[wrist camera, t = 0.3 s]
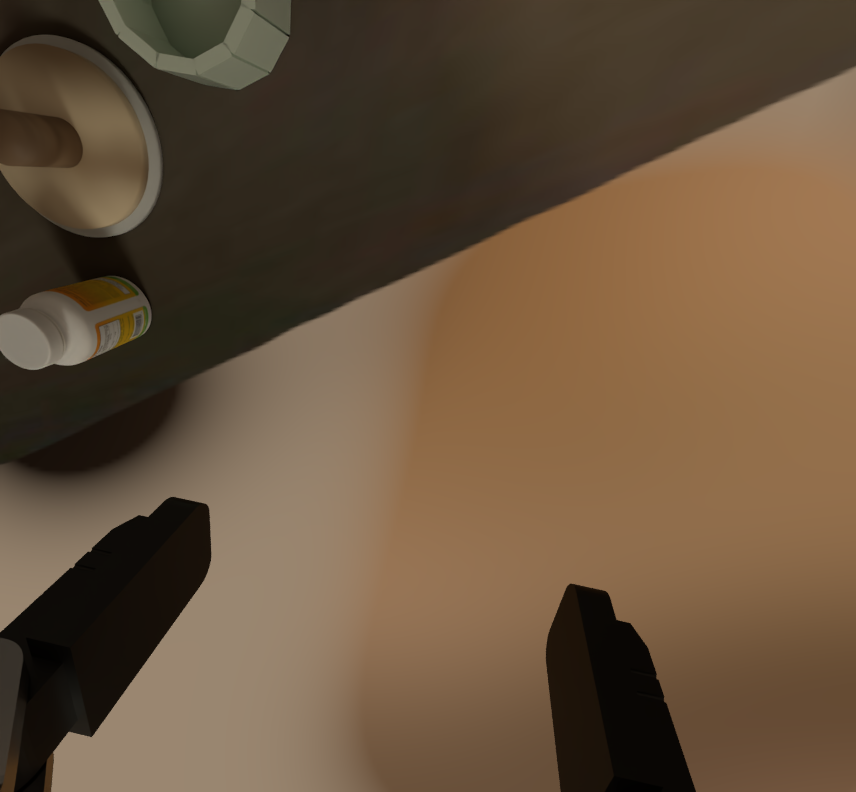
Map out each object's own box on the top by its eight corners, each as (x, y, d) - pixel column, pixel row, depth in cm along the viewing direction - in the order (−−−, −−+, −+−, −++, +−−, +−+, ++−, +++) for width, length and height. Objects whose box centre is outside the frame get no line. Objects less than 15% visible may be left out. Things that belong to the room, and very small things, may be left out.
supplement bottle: (80, 284, 40) (-36, 314, 31) (132, 266, 39) (26, 291, 30) (114, 344, 42) (14, 388, 33) (165, 328, 41) (75, 369, 32)
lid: (-22, 34, 32) (-115, 7, 27) (140, 62, 32) (75, 40, 27) (14, 213, 37) (-60, 218, 32) (155, 240, 37) (102, 249, 32)
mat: (-26, 22, 33) (-35, 19, 32) (155, 53, 32) (149, 51, 32) (14, 220, 38) (7, 221, 38) (169, 250, 38) (164, 251, 37)
